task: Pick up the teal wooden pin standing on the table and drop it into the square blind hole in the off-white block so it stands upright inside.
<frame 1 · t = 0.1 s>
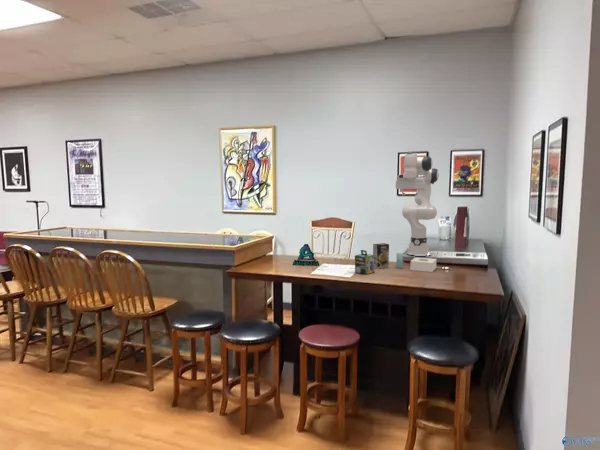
hand: (410, 195, 289), 48 cm above the table, tool pointing down, fingers open, 8 cm apart
pin: (399, 268, 278), on the table
coffee box: (380, 267, 281), on the table
hole block: (423, 268, 275), on the table
decorative sign: (305, 265, 292), on the table
chalk box: (364, 272, 267), on the table
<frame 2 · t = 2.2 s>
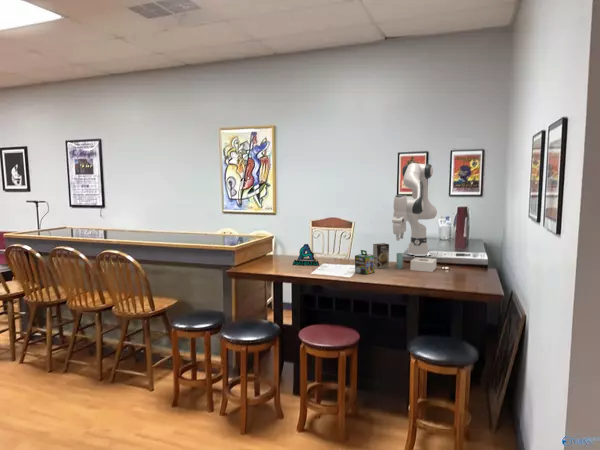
hand: (399, 239, 276), 19 cm above the table, tool pointing down, fingers open, 8 cm apart
nothing on the table moved.
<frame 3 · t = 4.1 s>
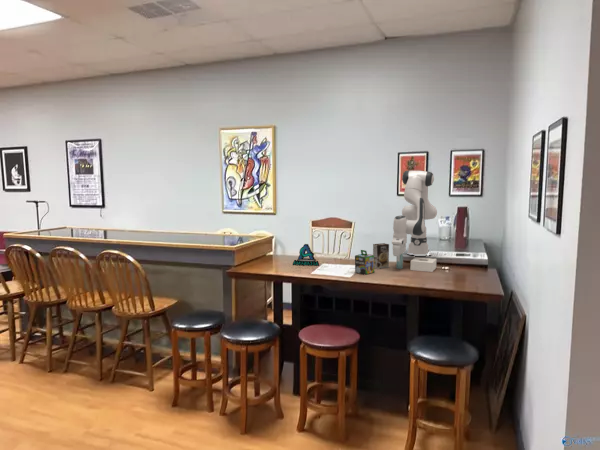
hand: (399, 260, 278), 5 cm above the table, tool pointing down, fingers closed on pin, 4 cm apart
pin: (399, 268, 278), on the table, touching gripper
everything else where it was.
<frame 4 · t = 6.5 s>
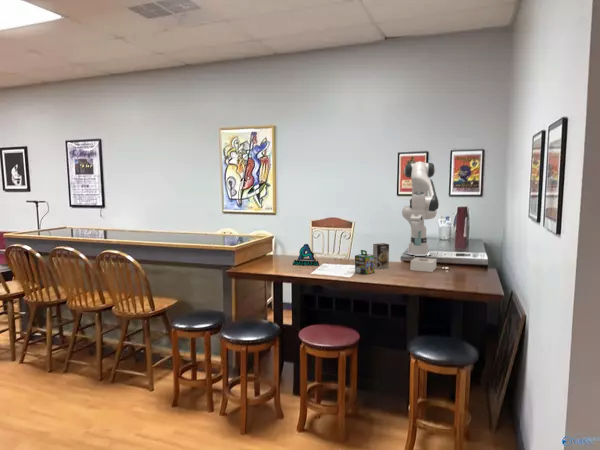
hand: (417, 237, 273), 21 cm above the table, tool pointing down, fingers closed on pin, 4 cm apart
pin: (417, 245, 274), point 16 cm above the table, touching gripper
everything else where it was.
when the fingers open (9 cm above the table, at t = 9.1 s): pin drops 1 cm, resting on hole block.
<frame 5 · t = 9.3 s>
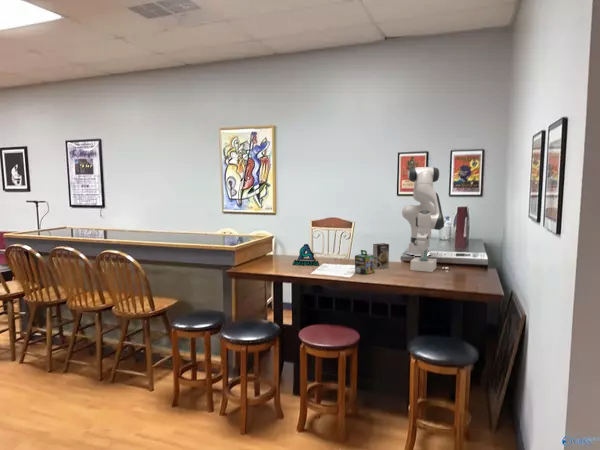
hand: (423, 256, 274), 9 cm above the table, tool pointing down, fingers open, 6 cm apart
pin: (423, 265, 275), point 2 cm above the table, touching hole block
everything else where it was.
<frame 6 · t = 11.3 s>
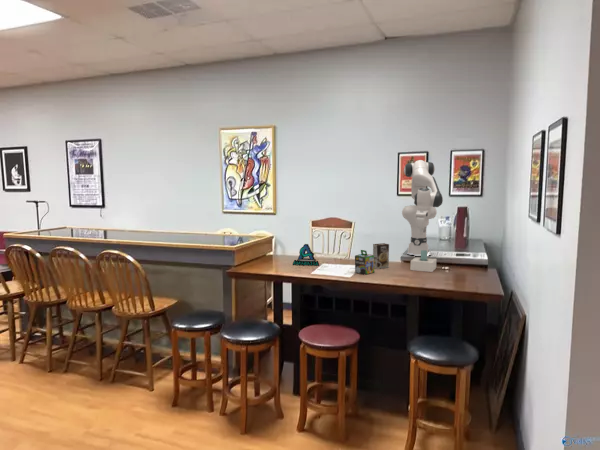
hand: (422, 233, 274), 23 cm above the table, tool pointing down, fingers open, 8 cm apart
nothing on the table moved.
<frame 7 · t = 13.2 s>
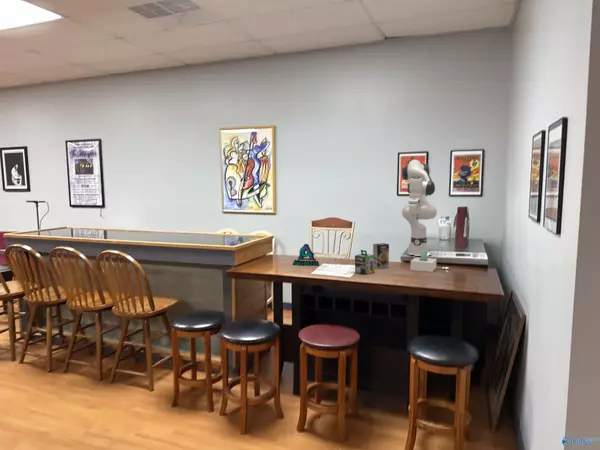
hand: (415, 220, 284), 31 cm above the table, tool pointing down, fingers open, 8 cm apart
nothing on the table moved.
at the end: pin 0.0 cm off-centre on the hole block, point 2.2 cm above the hole block's base; pin tilted 1°; the gripper is holding nothing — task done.
